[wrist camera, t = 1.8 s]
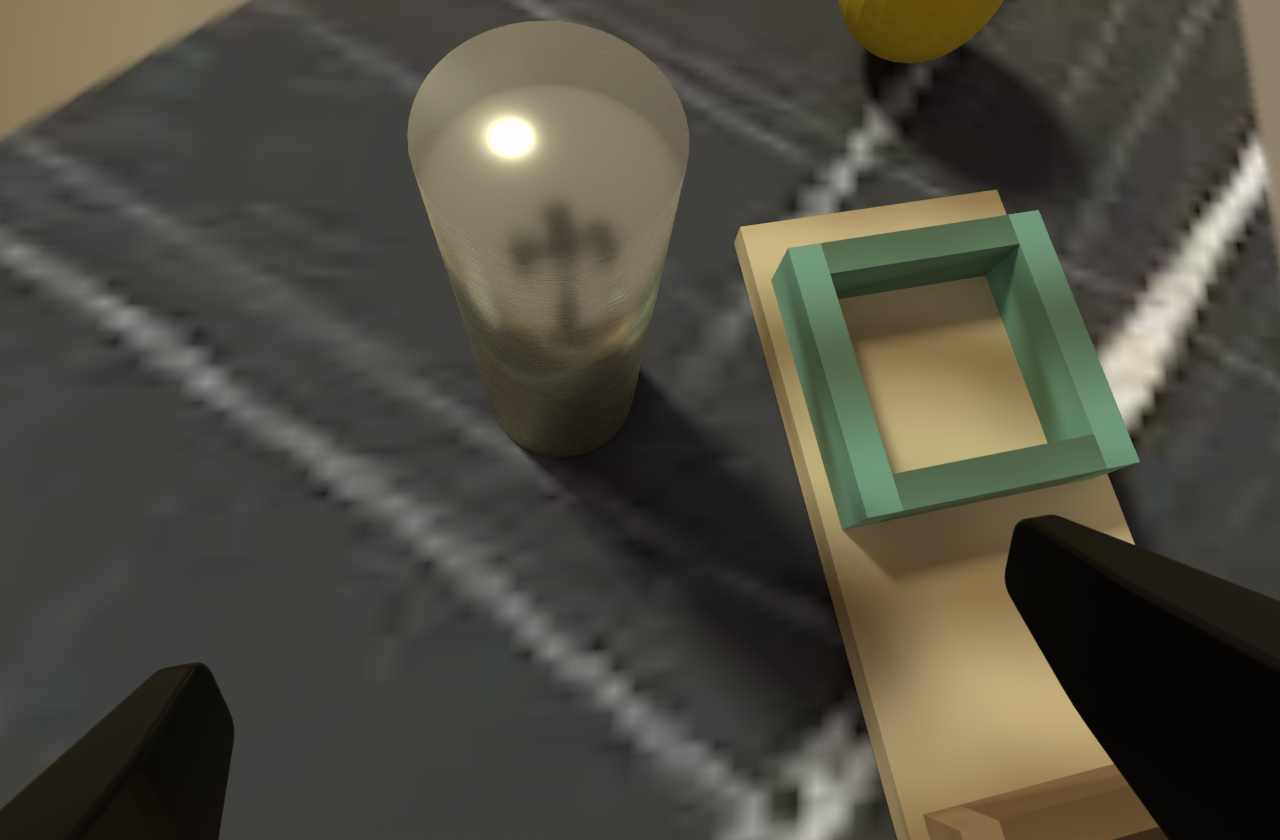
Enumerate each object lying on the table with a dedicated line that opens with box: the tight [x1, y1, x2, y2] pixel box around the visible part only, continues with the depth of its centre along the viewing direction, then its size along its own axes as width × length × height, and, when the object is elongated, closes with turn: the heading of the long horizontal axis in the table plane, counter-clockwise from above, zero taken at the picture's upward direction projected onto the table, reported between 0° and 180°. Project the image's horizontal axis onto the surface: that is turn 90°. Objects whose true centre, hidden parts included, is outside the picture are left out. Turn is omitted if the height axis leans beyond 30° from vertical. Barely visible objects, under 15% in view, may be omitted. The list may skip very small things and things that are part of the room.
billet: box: [408, 21, 689, 458], centre depth 18 cm, size 4×4×12 cm
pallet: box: [734, 190, 1168, 840], centre depth 21 cm, size 26×9×3 cm, turn 12°
